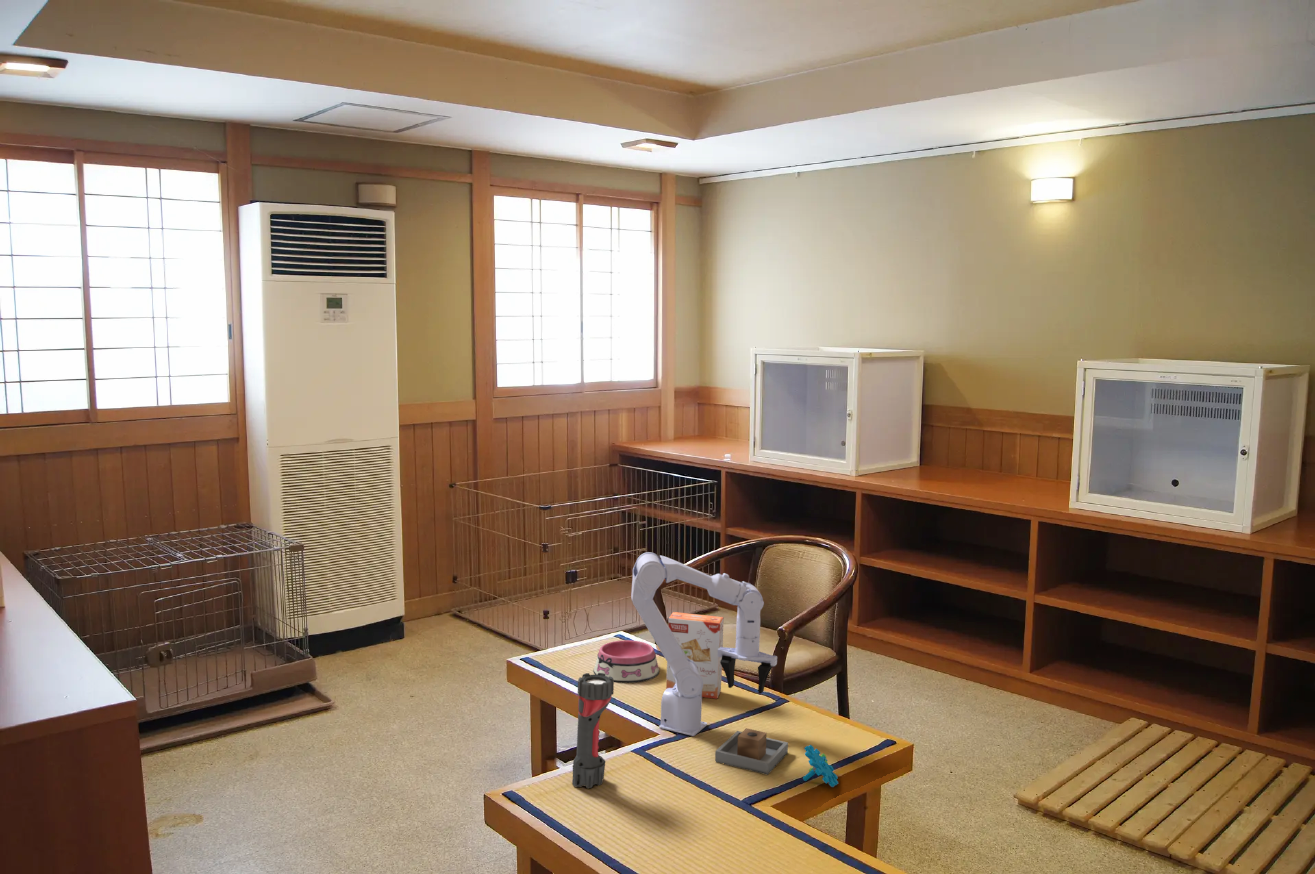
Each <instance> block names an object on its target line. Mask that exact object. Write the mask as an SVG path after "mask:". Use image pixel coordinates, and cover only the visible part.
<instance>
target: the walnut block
mask: <svg viewBox="0 0 1315 874" xmlns="http://www.w3.org/2000/svg"><path fill="white" fill-rule="evenodd" d="M741 732H742V733H741V734H740V735H739V736H738V747H737V755H740V756H744V757H749V758H753V759H757V760H761V758H762V757H763V756H764V755H765V754H766V738H767V732H765V731H760V730H756V729H751V728H744V729H743V730H742V731H741Z"/></svg>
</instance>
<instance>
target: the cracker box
mask: <svg viewBox="0 0 1315 874" xmlns="http://www.w3.org/2000/svg"><path fill="white" fill-rule="evenodd" d="M724 624H725V623H724V616H717V615H716V616H715V615H706V614H705V615H704V614H696V613H686V612H675V611H673V612H672V613H671V615H670V616H669V617H668V623H667V625H668V626H669V628H670V630H671V631H672V633H673V635H674V637H675V638H676V640H677V642H678V643H679V645H680V647H681V649H682V650H683V651H684V653H685V654H686V656H687V657H688V658H689V659H690V660H691V661H693V662H694V663H695V664H696V665H697V668H698V672H699V674H700V676H701V678H702V680H703V688H702V698H705V699H716V700H717V699H718V698H719V695H720V694H721V691H722V674H723V672H722V671H723V667H722V665H721V663H720V660H722V657H718V649H719V648H720V647H724V645H723V644H724ZM675 683H676V681H675V679H674V677H673V672H672V670H671V668H670V666H669V664H668V662H667V661H666V685H665V686H666V687H665V690H666V689H667V688H673V687H674V685H675Z"/></svg>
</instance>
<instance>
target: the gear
mask: <svg viewBox="0 0 1315 874" xmlns="http://www.w3.org/2000/svg"><path fill="white" fill-rule="evenodd" d="M803 749H804V750H805V752H804V756H805V757H806V758H807V759H809V760H808V763H809V765H810V766H811V767H810V768H809V769H808V771H809V772H807V774H805V775H804V776H803V777H802V779H803V781H805V782H807V781H808V780H810V778H812V777H813V776H815V774H816V775H817V776H818V777H819V776H822V781H823V782H824V783H825V784H828V785H829V786H830V787H831V788H834V787H835V786H837V785H838V784H839V781H838V780H837V779H838V775H837V774H836V773H834V770H835V769H834V767H833V765H831V764H829V762H828V759H827V756H826V754H825V753H822V754H821V752H820V750H819V749H818V748H815V747H814V746H813V745H812V744H809V745H806V746H805V747H804V748H803ZM820 754H821V755H820Z"/></svg>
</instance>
